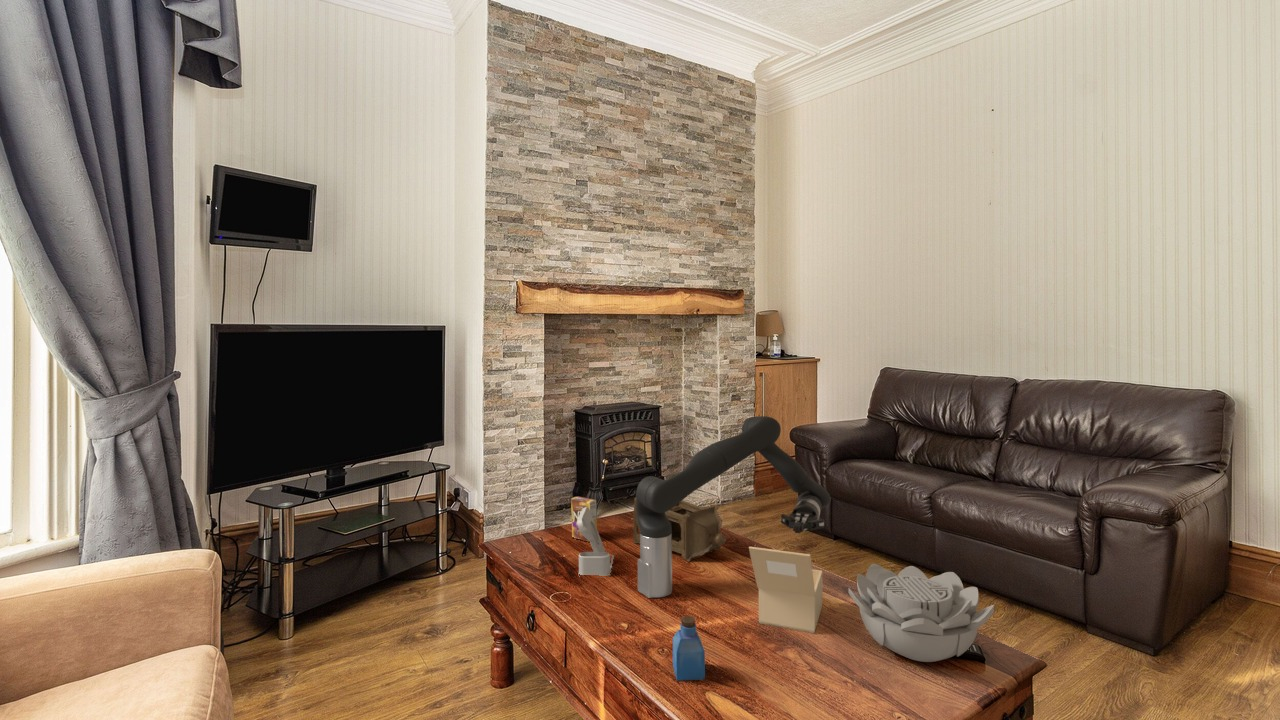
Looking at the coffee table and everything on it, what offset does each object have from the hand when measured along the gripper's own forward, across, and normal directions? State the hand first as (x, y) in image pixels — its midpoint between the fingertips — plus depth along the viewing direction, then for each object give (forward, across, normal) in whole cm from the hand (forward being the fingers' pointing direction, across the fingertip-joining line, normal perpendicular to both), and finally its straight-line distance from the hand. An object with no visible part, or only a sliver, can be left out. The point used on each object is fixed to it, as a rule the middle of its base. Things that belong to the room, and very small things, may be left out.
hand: (797, 529), depth 171 cm
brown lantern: (-24, -42, +20) cm, 52 cm away
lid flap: (+24, 0, +3) cm, 24 cm away
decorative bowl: (+18, +30, +20) cm, 40 cm away
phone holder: (0, -63, +21) cm, 67 cm away
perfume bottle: (+46, -16, +21) cm, 53 cm away
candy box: (-21, -79, +21) cm, 84 cm away
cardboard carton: (+10, 0, +20) cm, 22 cm away
